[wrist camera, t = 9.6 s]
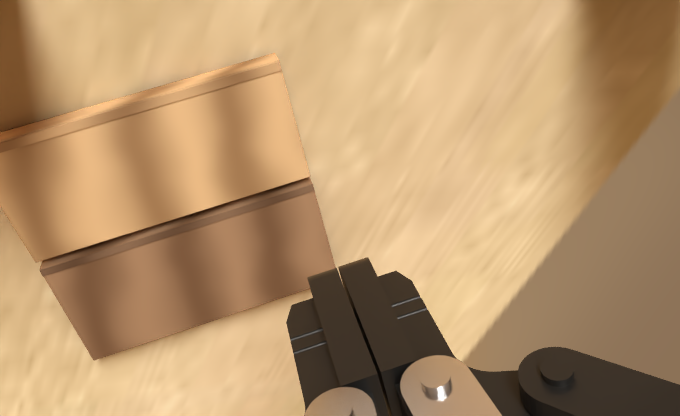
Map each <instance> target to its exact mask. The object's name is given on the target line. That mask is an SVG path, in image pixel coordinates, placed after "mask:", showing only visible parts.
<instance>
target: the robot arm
mask: <svg viewBox="0 0 680 416" xmlns="http://www.w3.org/2000/svg"><path fill="white" fill-rule="evenodd" d="M339 271H340V275H341V278H340V276H339V273H338V271H337V268H334V269H331V270H328V271H325V272H322V273H319V274H315V275H312V276H309V277H307V279H308V282H309V285H310V289H311V292H312V295H313V298H312V299H309V300H306V301H303V302H300V303H297V304H294V305H292V306H291V309H290V312H289V316H288V319H287V322H286V323H287V327H288V332H289V336H290V340H291V345H292V349H293V353H294V358H295V362H296V367H297V371H298V375H299V380H300V384H301V389H302V393H303V397H304V402H305V415H304V416H680V385H678V384H675V383H672V382H669V381H666V380H663V379H660V378H657V377H654V376H651V375H648V374H644V373H642V372H639V371H636V370H632V369H629V368H626V367H623V366H620V365H617V364H614V363H611V362H608V361H605V360H602V359H599V358H596V357H592V356H590V355H587V354H583V353H580V352H577V351H574V350H571V349H567V348H561V347H548V348H543V349H539V350H537V351H534V352H532V353H531V354H529V355H528V356H527V357H525V358H524V360H523V361H522V362H521V364H520V366H519V369H518V371H501V372H486V371H480V370H476V369H473V368H470V367H468V366H466V365H465V364H464V363H463V362H461V361H460V360H458V359H457V358H456V357H455V356H454V355H453V353H452V352H451V350H450V348H449V347H448V345H447V343H446V341H445V339H444V338H443V336H442V334H441V332H440V330H439V329H438V327H437V325H436V323H435V322H434V320H433V318H432V316H431V314H430V313H429V311H428V310H427V308H426V306H425V304H424V302H423V300H422V298H420V295H419V293H418V291H417V290H416V288H415V286H414V284H413V282H412V281H411V280H410V279H408V278H406V277H405V276H403V275H402V274H400V273H399V272H397V271H394V272H391V273H388V274H385V275H382V276H378V277H377V275H376V273H375V271H374V269H373V266H372V264H371V262H370V260H369V259H368V257H367V258H364V259H361V260H358V261H355V262H352V263H349V264H346V265H343V266H340V267H339ZM341 279H342V281H341ZM342 282H343V284H342Z"/></svg>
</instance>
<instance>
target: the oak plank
mask: <svg viewBox="0 0 680 416" xmlns="http://www.w3.org/2000/svg"><path fill="white" fill-rule="evenodd" d="M307 177H310V173H309V170H308V166H307V162H306V159H305V155H304V151H303V147H302V144H301V140H300V136H299V133H298V129H297V125H296V122H295V118H294V114H293V111H292V107H291V103H290V99H289V96H288V92H287V88H286V85H285V81H284V77H283V74H282V69H281V66H280V62H279V59H278V57H277V56H276V54H275V53H273V54H270V55H266V56H263V57H259V58H256V59H252V60H249V61H245V62H242V63H238V64H235V65H232V66H228V67H225V68H221V69H218V70H214V71H211V72H207V73H204V74H201V75H197V76H194V77H190V78H187V79H183V80H180V81H176V82H173V83H170V84H166V85H163V86H159V87H156V88H152V89H149V90H145V91H142V92H139V93H135V94H132V95H128V96H125V97H121V98H118V99H114V100H111V101H107V102H104V103H101V104H97V105H94V106H90V107H87V108H83V109H80V110H76V111H73V112H70V113H66V114H63V115H59V116H56V117H52V118H49V119H45V120H42V121H39V122H35V123H32V124H28V125H25V126H21V127H18V128H14V129H11V130H8V131H4V132H1V133H0V206H1V208H2V209H3V211H4V213H5V214H6V216H7V217H8V219H9V221H10V222H11V224H12V225H13V227H14V228H15V230H16V232H17V233H18V235H19V236H20V238H21V240H22V241H23V243H24V244H25V246H26V248H27V249H28V251H29V252H30V254H31V256H32V257H33V259H34V260H35V262H39V261H42V260H45V259H49V258H52V257H55V256H58V255H61V254H65V253H68V252H71V251H74V250H77V249H80V248H84V247H87V246H90V245H93V244H96V243H100V242H103V241H106V240H109V239H112V238H116V237H119V236H122V235H125V234H128V233H131V232H135V231H138V230H141V229H144V228H147V227H151V226H154V225H157V224H160V223H163V222H167V221H170V220H173V219H176V218H179V217H182V216H186V215H189V214H192V213H195V212H198V211H202V210H205V209H208V208H211V207H214V206H218V205H221V204H224V203H227V202H230V201H233V200H237V199H240V198H243V197H246V196H249V195H253V194H256V193H259V192H262V191H265V190H269V189H272V188H275V187H278V186H281V185H285V184H288V183H291V182H294V181H297V180H300V179H304V178H307Z"/></svg>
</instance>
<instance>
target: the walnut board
mask: <svg viewBox="0 0 680 416" xmlns="http://www.w3.org/2000/svg"><path fill="white" fill-rule="evenodd" d="M334 268H335V264H334V260H333V257H332V253H331V249H330V246H329V242H328V239H327V235H326V231H325V228H324V224H323V220H322V217H321V213H320V210H319V206H318V202H317V199H316V195H315V191H314V187H313V184H312V182H311V180H310V178H309V177H307V178H304V179H300V180H297V181H294V182H291V183H288V184H285V185H281V186H278V187H275V188H272V189H269V190H265V191H262V192H259V193H256V194H253V195H249V196H246V197H243V198H240V199H237V200H233V201H230V202H227V203H224V204H221V205H218V206H214V207H211V208H208V209H205V210H202V211H198V212H195V213H192V214H189V215H186V216H182V217H179V218H176V219H173V220H170V221H167V222H163V223H160V224H157V225H154V226H151V227H147V228H144V229H141V230H138V231H135V232H131V233H128V234H125V235H122V236H119V237H116V238H112V239H109V240H106V241H103V242H100V243H96V244H93V245H90V246H87V247H84V248H80V249H77V250H74V251H71V252H68V253H65V254H61V255H58V256H55V257H52V258H49V259H45V260H43V261H42V264H41V267H40V272H41V274H42V275H43V276H44V278H45V279H46V281H47V283H48V284H49V286H50V288H51V289H52V291H53V293H54V294H55V296H56V298H57V299H58V301H59V303H60V305H61V306H62V308H63V310H64V311H65V313H66V315H67V316H68V318H69V320H70V321H71V323H72V325H73V326H74V328H75V330H76V331H77V333H78V335H79V337H80V338H81V340H82V342H83V343H84V345H85V347H86V348H87V350H88V352H89V353H90V355H91V357H92V358H93V360H97V359H100V358H103V357H106V356H109V355H112V354H115V353H118V352H121V351H124V350H127V349H130V348H133V347H136V346H139V345H142V344H145V343H148V342H151V341H154V340H157V339H160V338H163V337H166V336H169V335H172V334H175V333H178V332H181V331H184V330H187V329H190V328H193V327H196V326H199V325H202V324H205V323H208V322H211V321H214V320H217V319H220V318H223V317H226V316H229V315H232V314H235V313H238V312H241V311H244V310H247V309H250V308H253V307H256V306H259V305H262V304H265V303H268V302H271V301H274V300H277V299H280V298H283V297H286V296H289V295H292V294H295V293H298V292H301V291H304V290H307V289H310V285H309V282H308V279H307V277H309V276H312V275H315V274H319V273H322V272H325V271H328V270H331V269H334Z"/></svg>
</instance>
